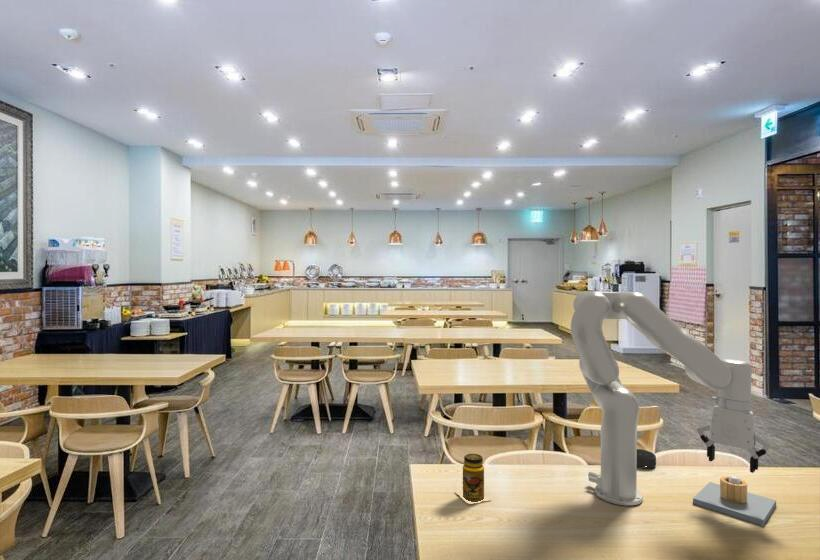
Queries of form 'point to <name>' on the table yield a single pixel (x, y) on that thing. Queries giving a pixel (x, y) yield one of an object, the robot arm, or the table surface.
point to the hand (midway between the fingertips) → (731, 465)
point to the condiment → (473, 478)
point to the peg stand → (752, 511)
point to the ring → (733, 491)
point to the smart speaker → (645, 459)
